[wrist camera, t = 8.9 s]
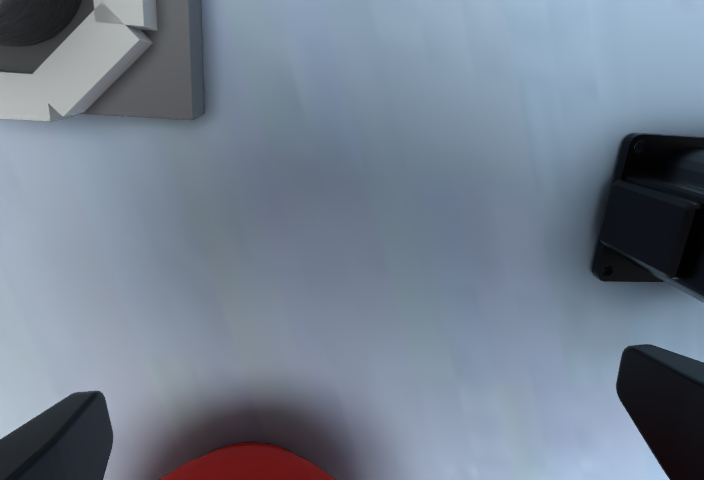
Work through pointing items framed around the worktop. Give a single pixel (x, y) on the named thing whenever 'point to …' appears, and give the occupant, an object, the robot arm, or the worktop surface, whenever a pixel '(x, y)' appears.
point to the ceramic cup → (249, 465)
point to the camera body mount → (110, 64)
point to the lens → (34, 20)
